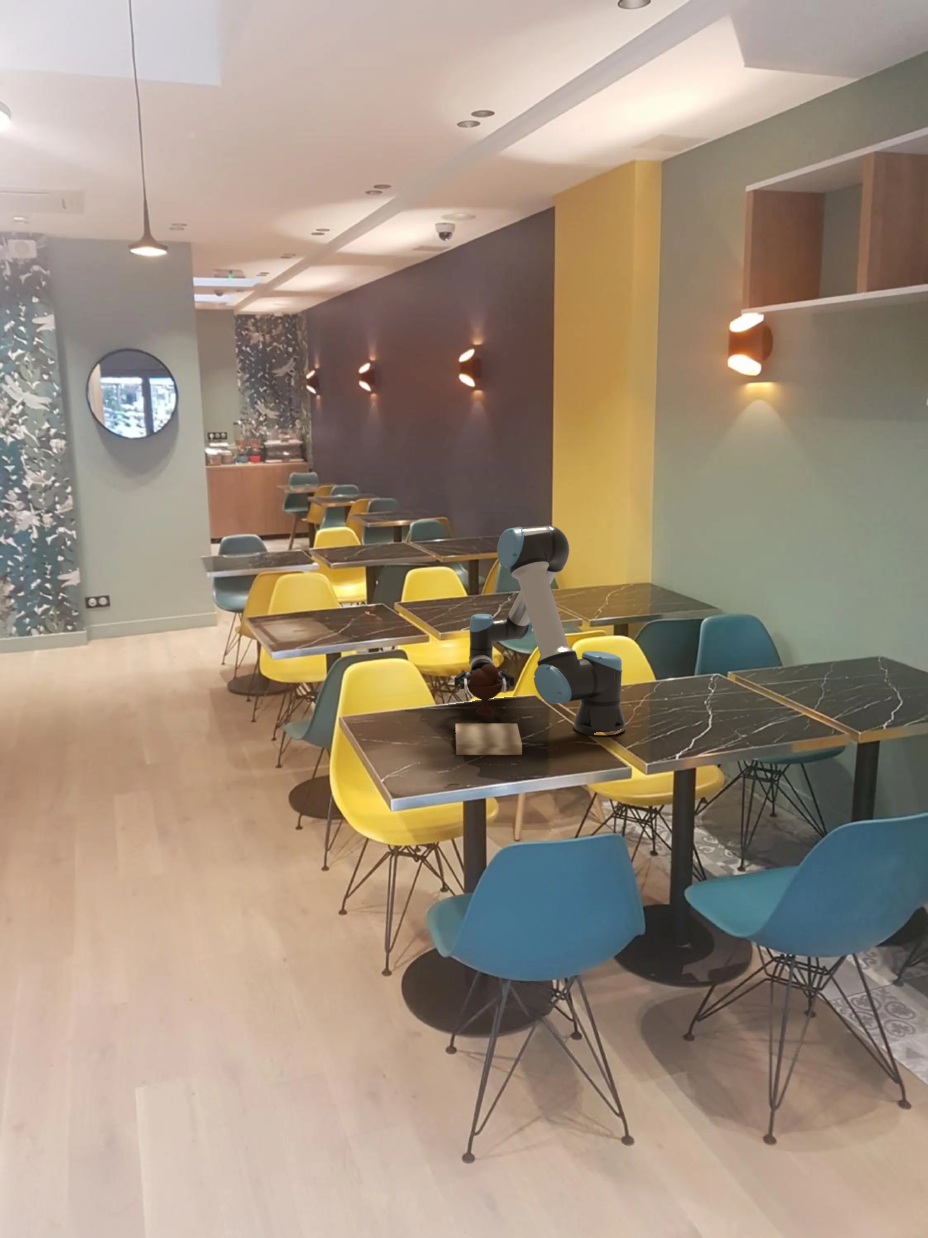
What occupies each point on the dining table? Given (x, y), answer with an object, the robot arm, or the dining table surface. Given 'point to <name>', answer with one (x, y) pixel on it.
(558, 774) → the dining table surface
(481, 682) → the ice cream bowl
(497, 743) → the maple stand board
